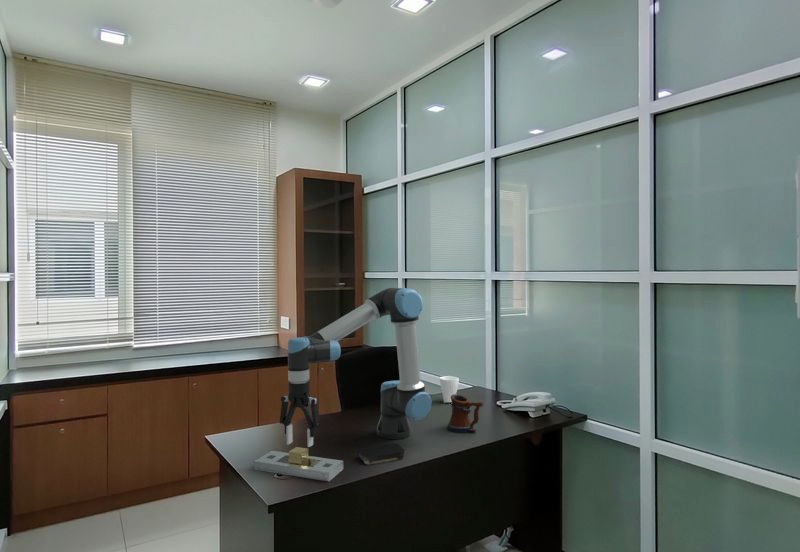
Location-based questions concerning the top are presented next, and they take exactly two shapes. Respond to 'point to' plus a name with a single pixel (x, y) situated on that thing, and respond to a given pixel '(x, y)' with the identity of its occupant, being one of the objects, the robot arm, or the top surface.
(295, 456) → the yellow block
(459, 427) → the mug
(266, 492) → the top surface
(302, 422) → the top surface
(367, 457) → the black sponge
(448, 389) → the cup
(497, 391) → the top surface
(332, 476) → the rail
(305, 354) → the robot arm
